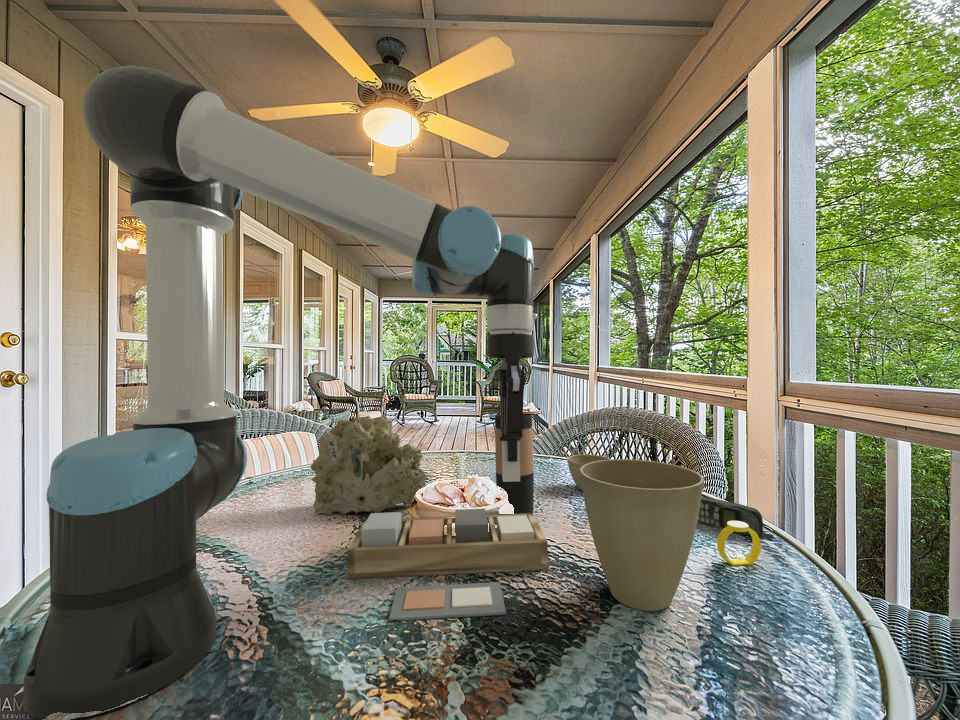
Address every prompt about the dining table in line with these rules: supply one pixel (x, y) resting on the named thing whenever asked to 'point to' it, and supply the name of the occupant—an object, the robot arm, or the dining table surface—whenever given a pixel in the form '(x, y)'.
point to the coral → (365, 468)
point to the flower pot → (578, 461)
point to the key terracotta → (427, 532)
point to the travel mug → (523, 489)
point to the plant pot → (642, 526)
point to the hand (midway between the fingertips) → (511, 480)
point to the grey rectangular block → (471, 526)
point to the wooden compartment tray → (448, 554)
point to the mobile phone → (730, 515)
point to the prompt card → (447, 601)
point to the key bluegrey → (382, 529)
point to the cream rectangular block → (514, 528)
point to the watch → (739, 527)
